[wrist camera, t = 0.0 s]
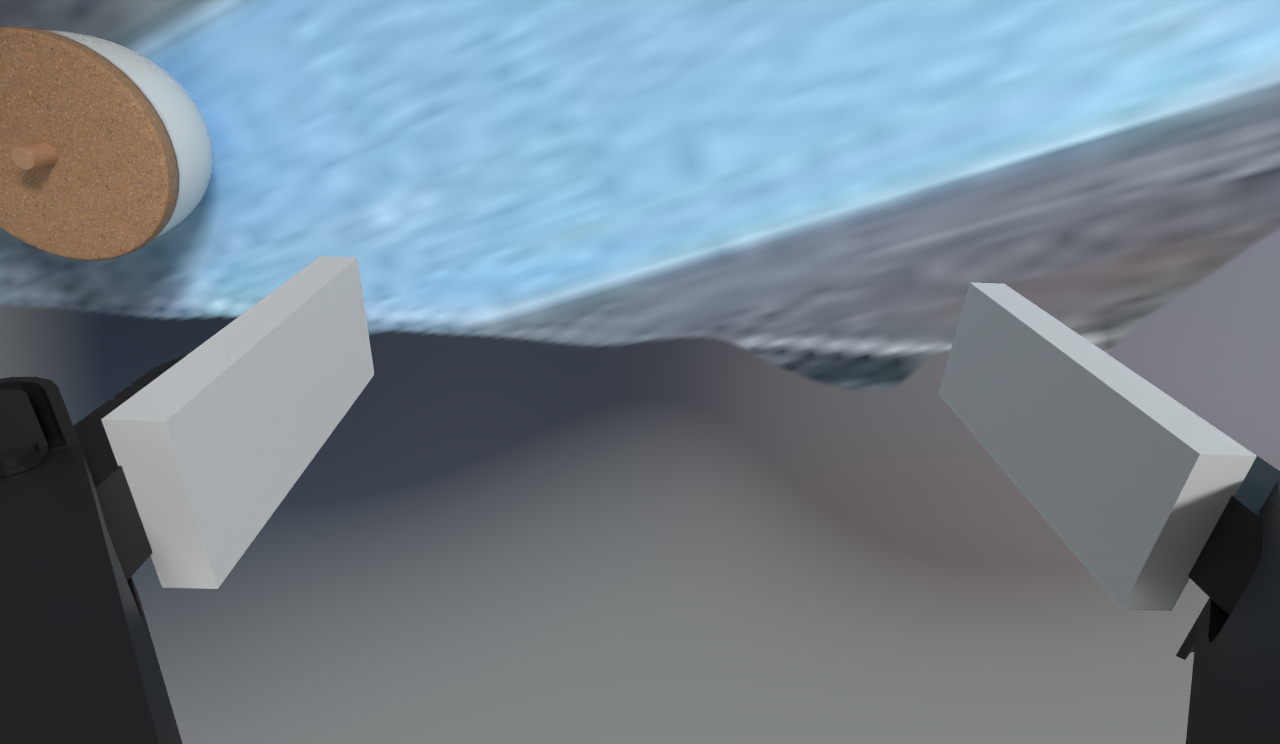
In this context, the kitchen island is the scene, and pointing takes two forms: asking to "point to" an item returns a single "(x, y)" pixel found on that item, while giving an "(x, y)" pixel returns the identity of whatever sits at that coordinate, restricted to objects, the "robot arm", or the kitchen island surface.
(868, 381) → the kitchen island surface
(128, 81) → the lidded jar
